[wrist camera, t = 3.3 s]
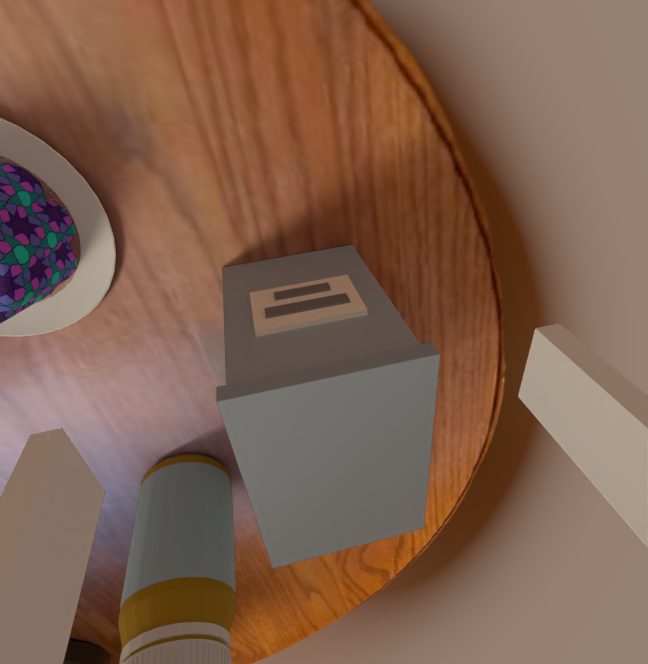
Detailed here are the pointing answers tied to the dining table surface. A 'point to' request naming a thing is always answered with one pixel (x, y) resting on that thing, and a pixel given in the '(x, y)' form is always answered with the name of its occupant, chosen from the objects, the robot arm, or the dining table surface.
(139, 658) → the bottle
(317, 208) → the dining table surface
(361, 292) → the storage box
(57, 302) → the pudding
